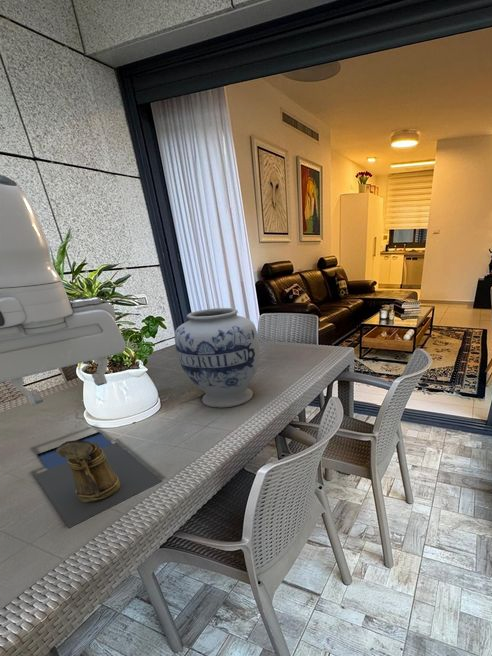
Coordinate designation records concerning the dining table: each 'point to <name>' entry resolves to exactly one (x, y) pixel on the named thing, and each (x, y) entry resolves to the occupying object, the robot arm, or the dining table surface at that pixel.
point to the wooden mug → (89, 470)
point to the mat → (54, 459)
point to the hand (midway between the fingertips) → (70, 392)
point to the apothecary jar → (219, 355)
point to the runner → (74, 511)
